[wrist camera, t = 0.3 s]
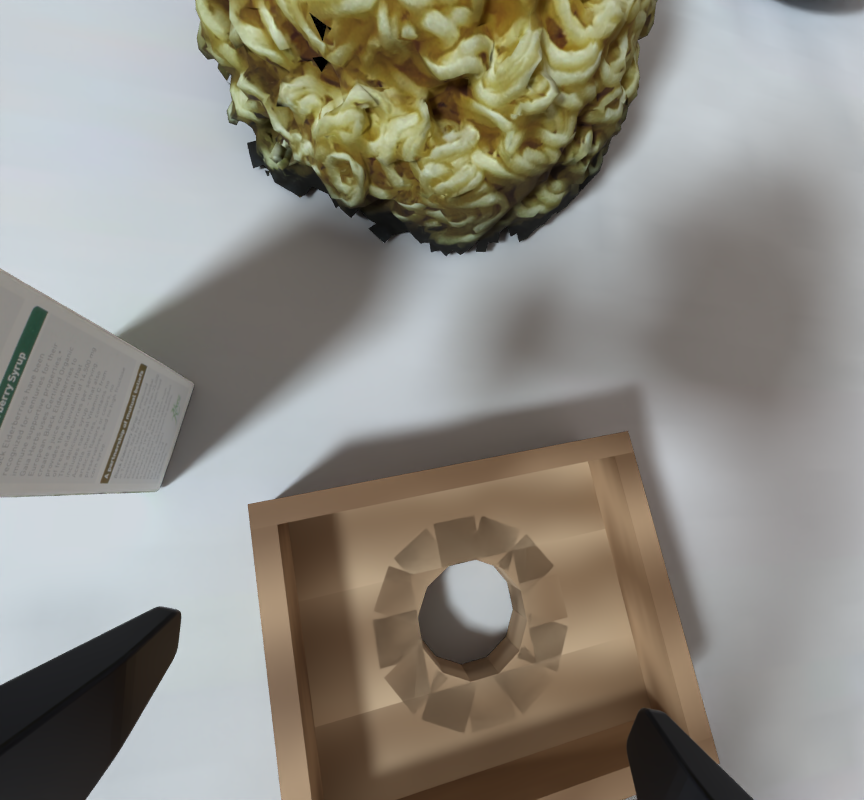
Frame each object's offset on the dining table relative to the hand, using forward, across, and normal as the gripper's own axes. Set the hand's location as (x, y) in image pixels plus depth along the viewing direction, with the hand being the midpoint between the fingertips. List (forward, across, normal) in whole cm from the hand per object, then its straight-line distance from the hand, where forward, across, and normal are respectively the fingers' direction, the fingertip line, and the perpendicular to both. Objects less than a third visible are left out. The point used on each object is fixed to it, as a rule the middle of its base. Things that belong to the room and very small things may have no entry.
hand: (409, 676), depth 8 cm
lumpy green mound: (+25, +5, -20) cm, 32 cm away
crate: (+12, -4, +7) cm, 15 cm away
